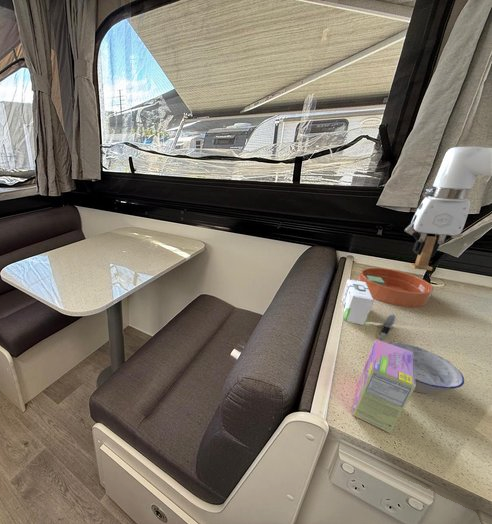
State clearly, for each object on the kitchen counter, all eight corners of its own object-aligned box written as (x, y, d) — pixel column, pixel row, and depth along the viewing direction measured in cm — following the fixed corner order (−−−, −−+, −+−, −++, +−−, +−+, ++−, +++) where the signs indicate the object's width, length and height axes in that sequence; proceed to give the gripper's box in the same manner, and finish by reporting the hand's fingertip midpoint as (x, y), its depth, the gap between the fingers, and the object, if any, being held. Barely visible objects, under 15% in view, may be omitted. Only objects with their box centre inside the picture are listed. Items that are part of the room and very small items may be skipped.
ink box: (344, 321, 78) (339, 302, 87) (365, 326, 75) (358, 305, 85) (352, 295, 74) (346, 278, 84) (375, 299, 72) (366, 281, 82)
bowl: (442, 416, 51) (454, 398, 49) (363, 371, 61) (370, 355, 59) (462, 385, 57) (473, 368, 55) (387, 350, 67) (394, 334, 65)
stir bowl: (413, 287, 95) (419, 273, 93) (436, 314, 80) (445, 298, 78) (351, 277, 102) (355, 264, 100) (362, 300, 88) (367, 285, 85)
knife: (372, 336, 72) (386, 340, 70) (372, 333, 71) (387, 338, 69) (382, 312, 81) (396, 316, 79) (383, 310, 81) (396, 314, 79)
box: (357, 381, 58) (375, 338, 53) (391, 396, 55) (415, 351, 50) (350, 415, 51) (371, 368, 46) (389, 434, 48) (416, 386, 43)
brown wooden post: (425, 268, 84) (435, 236, 82) (431, 270, 81) (442, 238, 79) (408, 266, 86) (418, 235, 84) (414, 268, 83) (424, 236, 80)
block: (377, 287, 94) (381, 277, 92) (380, 292, 91) (384, 282, 89) (363, 285, 96) (366, 275, 94) (365, 290, 92) (369, 280, 91)
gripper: (416, 194, 76) (393, 254, 84) (497, 197, 70) (465, 262, 77) (407, 190, 82) (386, 246, 90) (480, 193, 76) (452, 253, 83)
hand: (423, 253), depth 83 cm, fingers closed on brown wooden post, 2 cm apart
